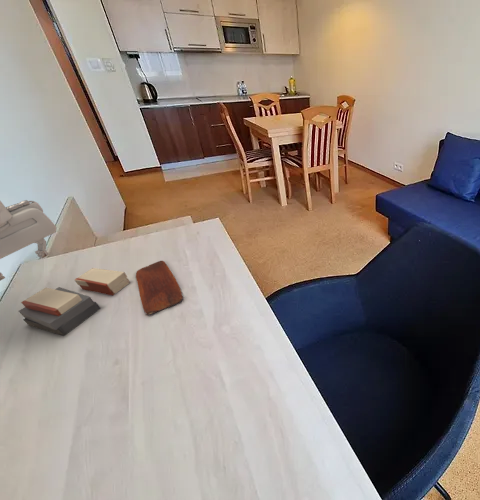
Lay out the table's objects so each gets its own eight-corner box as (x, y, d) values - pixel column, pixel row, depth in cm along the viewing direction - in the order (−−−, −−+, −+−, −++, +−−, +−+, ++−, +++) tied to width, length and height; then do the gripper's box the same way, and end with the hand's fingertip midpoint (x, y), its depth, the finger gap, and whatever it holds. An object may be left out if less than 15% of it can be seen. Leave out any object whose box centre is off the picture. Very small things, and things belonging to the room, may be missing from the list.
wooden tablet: (185, 301, 86) (183, 296, 85) (146, 318, 81) (144, 314, 80) (167, 259, 104) (165, 255, 103) (134, 272, 99) (132, 268, 98)
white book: (25, 307, 80) (20, 302, 79) (50, 292, 85) (45, 287, 84) (59, 316, 77) (54, 310, 76) (82, 300, 81) (78, 294, 80)
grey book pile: (26, 326, 82) (13, 313, 79) (67, 299, 90) (57, 286, 87) (63, 337, 78) (51, 324, 75) (103, 307, 86) (93, 294, 83)
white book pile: (81, 289, 93) (73, 279, 91) (101, 276, 99) (94, 266, 96) (112, 296, 90) (105, 286, 87) (131, 282, 95) (125, 272, 93)
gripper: (25, 196, 74) (59, 242, 82) (-95, 240, 59) (-38, 293, 66) (42, 197, 73) (75, 245, 80) (-77, 243, 57) (-21, 297, 65)
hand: (23, 267), depth 73 cm, fingers open, 8 cm apart
